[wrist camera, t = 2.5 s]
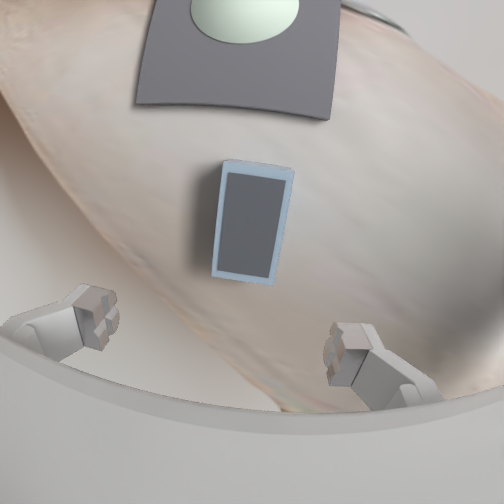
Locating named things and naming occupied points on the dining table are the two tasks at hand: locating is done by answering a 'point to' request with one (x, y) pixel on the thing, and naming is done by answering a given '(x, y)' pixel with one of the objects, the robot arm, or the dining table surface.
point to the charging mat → (242, 55)
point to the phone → (251, 220)
